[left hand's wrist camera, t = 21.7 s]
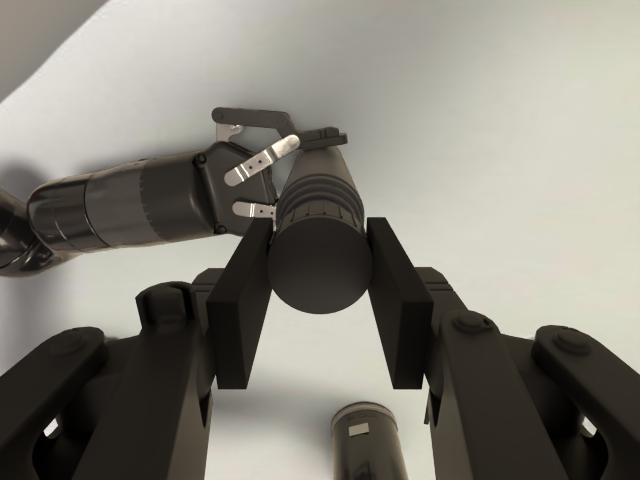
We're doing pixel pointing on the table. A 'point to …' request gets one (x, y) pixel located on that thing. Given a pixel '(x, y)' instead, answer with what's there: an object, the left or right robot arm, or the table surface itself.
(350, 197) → the bottle
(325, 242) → the cap
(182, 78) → the table surface
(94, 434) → the left robot arm
